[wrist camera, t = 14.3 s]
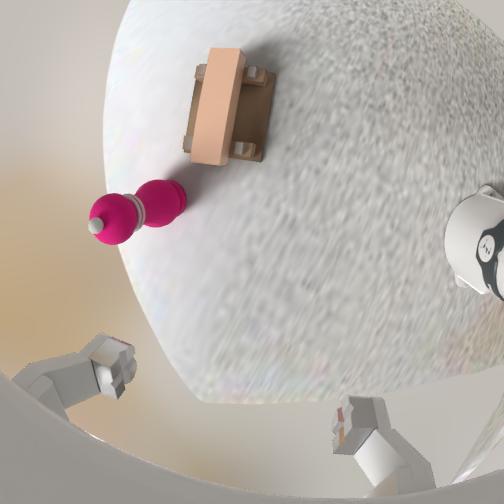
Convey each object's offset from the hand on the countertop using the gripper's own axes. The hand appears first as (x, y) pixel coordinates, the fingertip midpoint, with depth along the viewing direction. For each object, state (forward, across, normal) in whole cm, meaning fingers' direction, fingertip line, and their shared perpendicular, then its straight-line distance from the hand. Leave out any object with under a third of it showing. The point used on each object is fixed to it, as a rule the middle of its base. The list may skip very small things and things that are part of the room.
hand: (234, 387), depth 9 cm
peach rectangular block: (+31, +11, -14) cm, 36 cm away
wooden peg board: (+35, +11, -14) cm, 39 cm away
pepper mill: (+35, +19, +1) cm, 40 cm away
